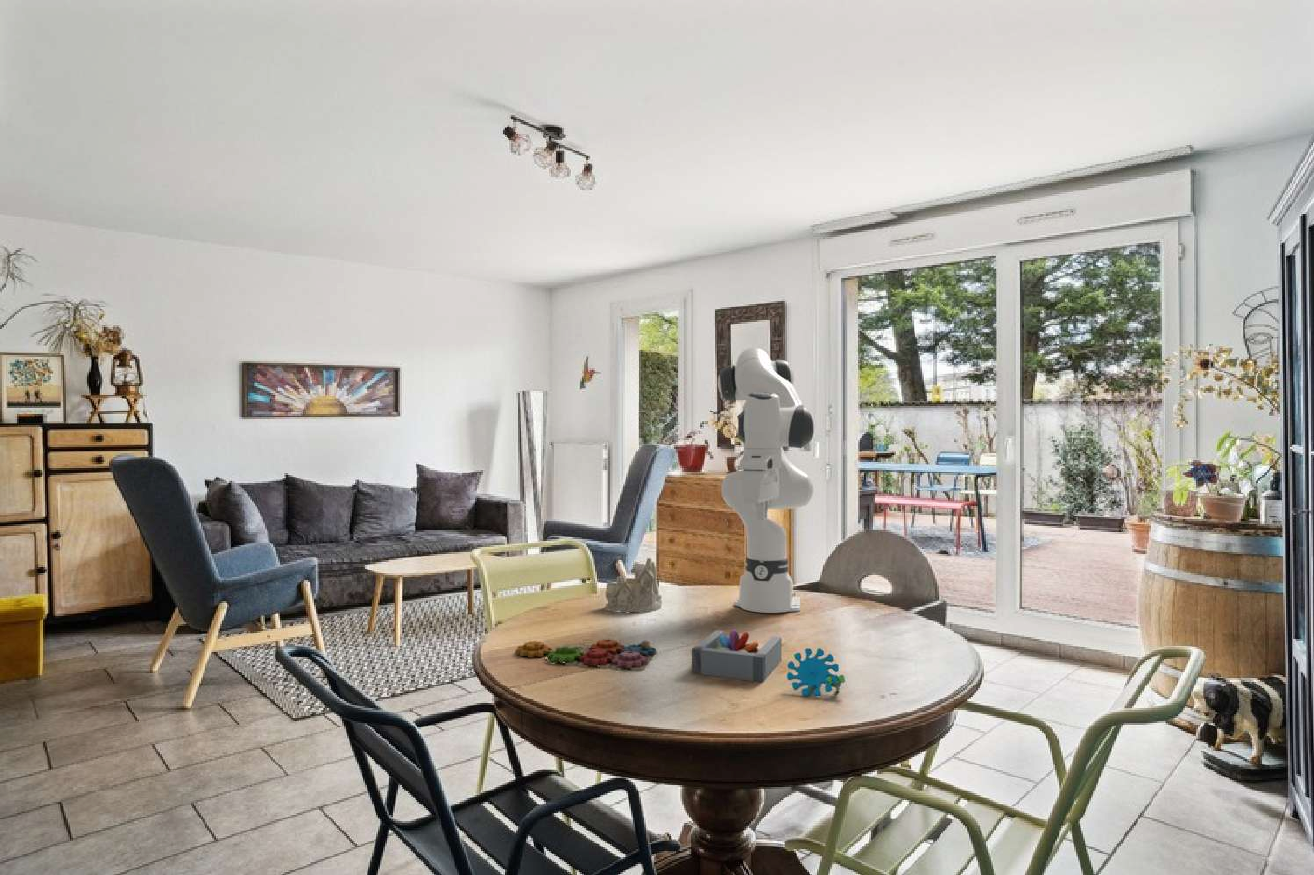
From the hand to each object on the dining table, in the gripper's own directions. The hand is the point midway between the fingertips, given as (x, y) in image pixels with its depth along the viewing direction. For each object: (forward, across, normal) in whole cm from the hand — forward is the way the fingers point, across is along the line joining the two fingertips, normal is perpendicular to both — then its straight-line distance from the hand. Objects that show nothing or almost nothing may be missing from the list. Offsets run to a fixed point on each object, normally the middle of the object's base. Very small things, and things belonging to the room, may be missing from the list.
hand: (762, 519), depth 181 cm
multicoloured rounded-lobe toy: (+30, +18, -1) cm, 34 cm away
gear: (+30, +29, +18) cm, 45 cm away
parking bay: (+29, +19, 0) cm, 35 cm away
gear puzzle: (+30, +25, -34) cm, 52 cm away
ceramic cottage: (+29, -23, -43) cm, 57 cm away
